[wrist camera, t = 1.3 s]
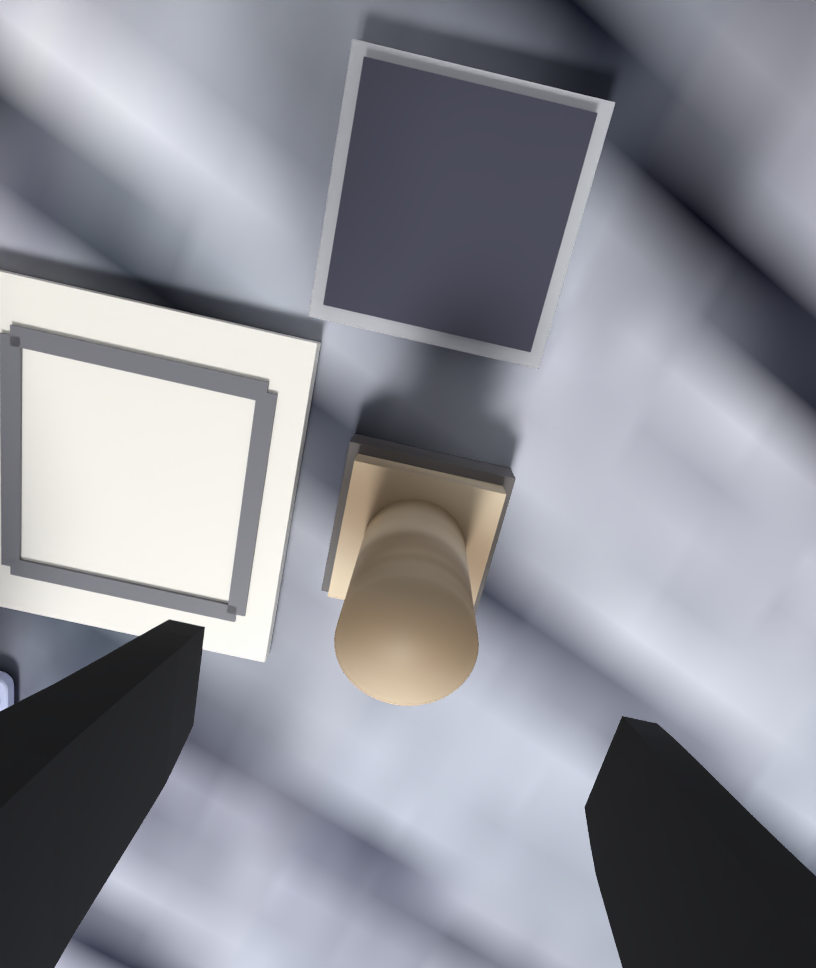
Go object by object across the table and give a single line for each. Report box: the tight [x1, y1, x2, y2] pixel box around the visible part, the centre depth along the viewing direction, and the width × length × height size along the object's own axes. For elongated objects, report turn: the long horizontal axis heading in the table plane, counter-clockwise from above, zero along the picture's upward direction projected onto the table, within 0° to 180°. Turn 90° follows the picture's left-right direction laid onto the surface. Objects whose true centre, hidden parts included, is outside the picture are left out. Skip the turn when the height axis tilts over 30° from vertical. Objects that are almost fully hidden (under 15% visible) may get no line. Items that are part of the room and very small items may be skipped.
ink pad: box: [309, 39, 615, 369], centre depth 15 cm, size 7×7×1 cm
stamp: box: [322, 434, 515, 706], centre depth 15 cm, size 5×5×7 cm
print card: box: [0, 269, 321, 662], centre depth 18 cm, size 11×10×1 cm
